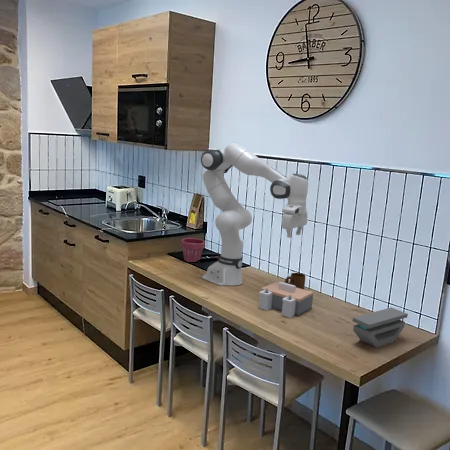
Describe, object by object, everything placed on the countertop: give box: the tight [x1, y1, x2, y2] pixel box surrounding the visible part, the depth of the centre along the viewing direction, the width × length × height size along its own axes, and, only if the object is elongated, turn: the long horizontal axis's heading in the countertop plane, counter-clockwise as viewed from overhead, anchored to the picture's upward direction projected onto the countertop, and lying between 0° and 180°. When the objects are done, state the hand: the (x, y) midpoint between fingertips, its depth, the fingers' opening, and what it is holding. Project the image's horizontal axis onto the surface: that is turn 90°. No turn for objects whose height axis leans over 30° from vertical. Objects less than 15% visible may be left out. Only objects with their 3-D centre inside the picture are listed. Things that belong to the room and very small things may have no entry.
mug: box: [284, 272, 306, 290], centre depth 245 cm, size 12×8×9 cm, turn 123°
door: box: [258, 281, 314, 303], centre depth 221 cm, size 20×18×4 cm
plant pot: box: [181, 237, 206, 263], centre depth 289 cm, size 14×14×13 cm
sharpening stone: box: [352, 307, 409, 348], centre depth 193 cm, size 25×8×11 cm, turn 126°
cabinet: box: [258, 288, 314, 319], centre depth 222 cm, size 20×18×9 cm
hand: (293, 236), depth 233 cm, fingers open, 8 cm apart
